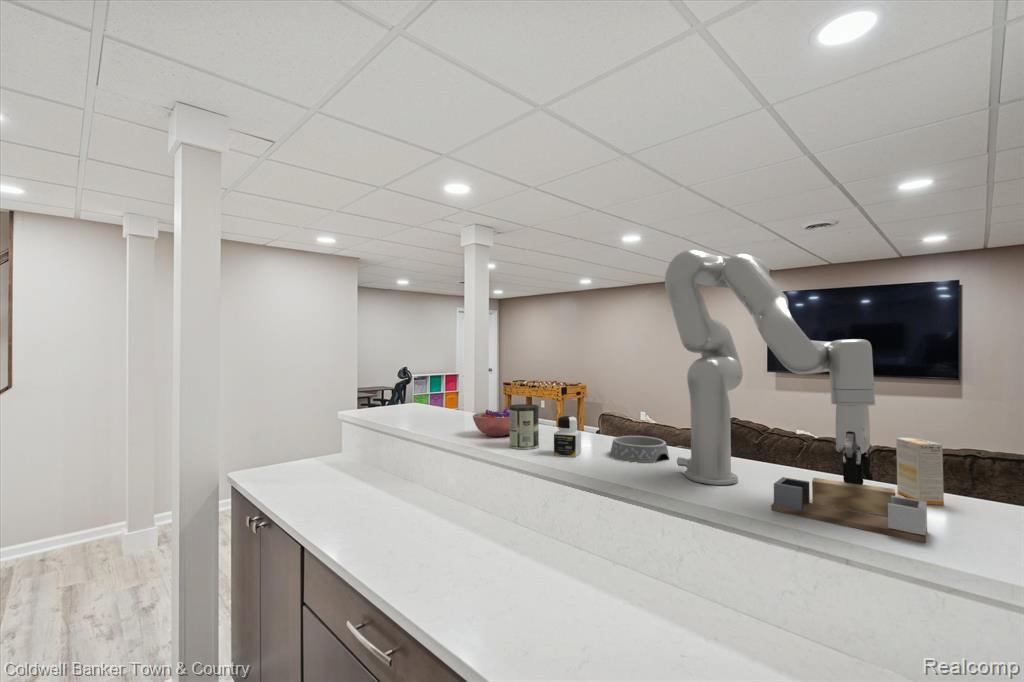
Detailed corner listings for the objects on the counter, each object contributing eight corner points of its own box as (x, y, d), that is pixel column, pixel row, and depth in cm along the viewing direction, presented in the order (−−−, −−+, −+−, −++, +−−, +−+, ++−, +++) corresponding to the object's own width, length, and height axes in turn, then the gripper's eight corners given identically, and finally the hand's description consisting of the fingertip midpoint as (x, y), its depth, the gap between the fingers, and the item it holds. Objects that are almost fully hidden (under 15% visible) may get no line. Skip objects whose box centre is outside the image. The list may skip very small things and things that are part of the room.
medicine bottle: (553, 455, 146) (553, 417, 146) (559, 451, 153) (559, 414, 153) (575, 457, 143) (575, 418, 144) (581, 452, 150) (581, 415, 150)
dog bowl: (680, 458, 144) (679, 440, 144) (644, 467, 133) (644, 448, 133) (634, 448, 158) (634, 433, 158) (599, 456, 146) (598, 439, 146)
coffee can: (527, 442, 167) (527, 403, 167) (544, 447, 158) (544, 406, 159) (503, 445, 161) (503, 405, 161) (520, 451, 153) (520, 408, 153)
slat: (812, 504, 101) (812, 481, 101) (813, 500, 103) (813, 477, 104) (895, 518, 92) (895, 493, 92) (894, 513, 95) (894, 488, 95)
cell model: (471, 432, 187) (471, 404, 188) (520, 431, 190) (520, 403, 190) (472, 440, 171) (472, 409, 171) (526, 439, 173) (526, 409, 173)
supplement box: (945, 505, 99) (944, 444, 99) (919, 504, 100) (918, 443, 100) (919, 494, 107) (918, 437, 107) (896, 492, 108) (895, 436, 108)
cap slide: (888, 527, 83) (887, 504, 83) (891, 517, 88) (891, 495, 88) (925, 535, 80) (924, 510, 80) (927, 524, 85) (926, 501, 85)
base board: (771, 509, 96) (771, 504, 96) (780, 501, 101) (780, 497, 101) (925, 542, 80) (925, 537, 80) (927, 531, 85) (927, 526, 85)
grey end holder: (773, 505, 96) (773, 483, 96) (782, 497, 101) (782, 477, 101) (801, 511, 93) (801, 488, 93) (809, 502, 98) (809, 481, 98)
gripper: (838, 394, 107) (842, 468, 106) (823, 399, 94) (827, 484, 94) (879, 395, 102) (884, 473, 101) (869, 401, 89) (874, 490, 88)
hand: (857, 478), depth 97 cm, fingers open, 9 cm apart
